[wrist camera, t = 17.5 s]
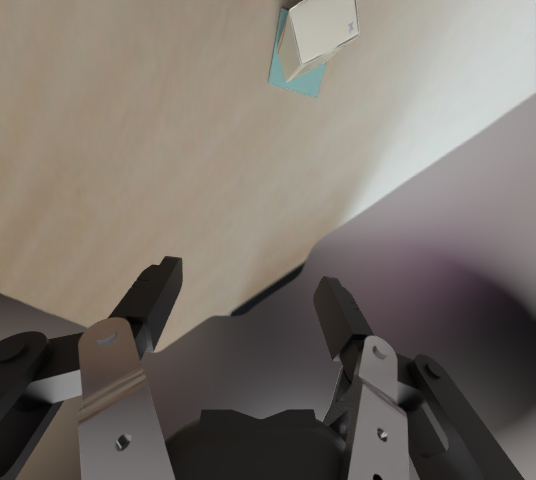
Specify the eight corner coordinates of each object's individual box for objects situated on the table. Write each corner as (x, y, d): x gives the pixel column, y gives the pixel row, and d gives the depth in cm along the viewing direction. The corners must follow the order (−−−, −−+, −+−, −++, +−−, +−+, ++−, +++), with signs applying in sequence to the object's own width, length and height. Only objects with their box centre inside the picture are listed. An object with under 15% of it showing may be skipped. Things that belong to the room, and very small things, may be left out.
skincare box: (316, 26, 26) (356, -35, 16) (323, 65, 29) (363, 34, 18) (274, 49, 27) (287, 5, 17) (285, 85, 30) (301, 66, 19)
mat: (268, 83, 30) (268, 82, 29) (280, 9, 26) (281, 7, 25) (315, 97, 31) (316, 97, 31) (334, 29, 27) (335, 27, 27)
